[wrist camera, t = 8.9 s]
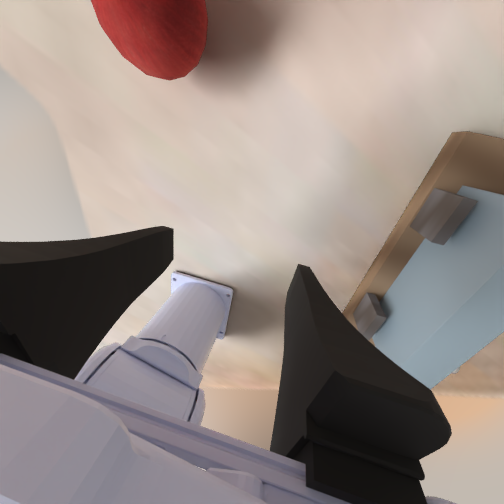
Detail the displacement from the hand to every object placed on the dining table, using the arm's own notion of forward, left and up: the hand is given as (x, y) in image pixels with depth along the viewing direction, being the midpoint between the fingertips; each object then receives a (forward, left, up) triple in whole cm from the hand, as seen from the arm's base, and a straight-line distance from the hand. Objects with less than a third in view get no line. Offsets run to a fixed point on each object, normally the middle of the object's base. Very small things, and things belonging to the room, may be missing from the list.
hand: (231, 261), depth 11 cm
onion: (+11, +8, -10) cm, 17 cm away
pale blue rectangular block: (-1, -15, -8) cm, 17 cm away
